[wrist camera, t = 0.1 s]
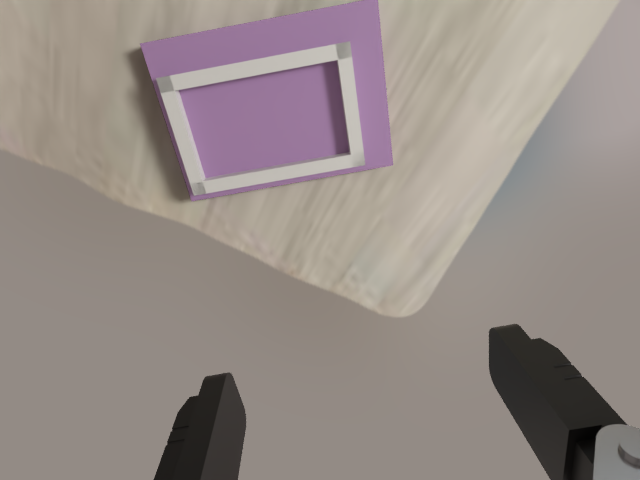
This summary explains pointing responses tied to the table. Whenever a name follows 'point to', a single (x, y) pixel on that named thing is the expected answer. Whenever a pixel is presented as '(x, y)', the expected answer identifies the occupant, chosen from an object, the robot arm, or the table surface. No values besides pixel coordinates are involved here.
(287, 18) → the door panel
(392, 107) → the table surface
